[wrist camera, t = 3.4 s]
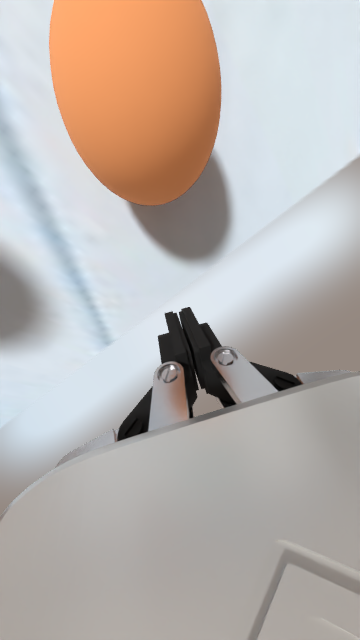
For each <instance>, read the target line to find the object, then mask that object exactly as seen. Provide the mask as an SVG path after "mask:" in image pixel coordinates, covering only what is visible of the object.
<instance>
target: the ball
mask: <svg viewBox="0 0 360 640" xmlns="http://www.w3.org/2000/svg"><path fill="white" fill-rule="evenodd" d="M49 49H50V65H51V73H52V80H53V87H54V91H55V95H56V99H57V104H58V107H59V110H60V113H61V116H62V119H63V122H64V124H65V127H66V129H67V131H68V134H69V136H70V138H71V141H72V142H73V144H74V146H75V148H76V150H77V152H78V154H79V155H80V157H81V158H82V160H83V161H84V163H85V164H86V165H87V167H88V168H89V169H90V170H91V172H92V173H93V174H94V175H95V177H96V178H97V179H98V180H99V181H100V182H101V183H102V184H103V185H104V186H106V187H107V188H108V189H109V190H110V191H112V192H113V193H115V194H116V195H118V196H119V197H121V198H123V199H125V200H127V201H130V202H133V203H136V204H140V205H150V206H154V205H162V204H165V203H168V202H171V201H173V200H175V199H177V198H178V197H180V196H181V195H183V194H184V193H185V192H186V191H187V190H188V189H189V188H190V187H191V186H192V185H193V184H194V183H195V182H196V181H197V179H198V178H199V176H200V175H201V173H202V172H203V170H204V168H205V166H206V164H207V162H208V160H209V157H210V155H211V152H212V149H213V147H214V143H215V139H216V136H217V131H218V125H219V119H220V108H221V75H220V65H219V59H218V53H217V47H216V43H215V39H214V35H213V31H212V27H211V24H210V21H209V18H208V15H207V12H206V10H205V7H204V5H203V3H202V1H201V0H54V4H53V9H52V15H51V21H50V37H49Z"/></svg>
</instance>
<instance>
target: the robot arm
mask: <svg viewBox="0 0 360 640" xmlns="http://www.w3.org/2000/svg"><path fill="white" fill-rule="evenodd" d="M179 315H180V320H181V324H182V327H181V324H180V321H179V318H178V316H177V313H173V312H169V313H165V317H166V322H167V326H168V330H169V333H166V334H163V335H159V336H158V341H159V348H160V355H161V362H162V365H160V366H159V367H158V368H157V369H156V371H155V373H154V381H153V386H152V388H151V389H150V390H149V391H148V392H147V394H146V395H145V396H144V397H143V399H142V400H141V401H140V402H139V403H138V405H137V406H136V407H135V408H134V409H133V411H132V412H131V413H130V414H129V415H128V417H127V418H126V419H125V420H124V421H123V423H122V425H121V426H120V428H119V429H117V430H115V431H114V429H112V430H110V431H108V432H106V433H105V434H103V435H101V436H99V437H97V438H95V439H94V440H92V441H90V442H88V443H86V444H84V445H82V446H81V447H79V448H77V449H75V450H73V451H72V452H70V453H68V454H67V455H66V456H64V457H63V458H62V459H61V460H60V462H59V463H58V464H57V466H56V468H54V469H53V470H52V471H50V472H48V473H47V474H46V475H44V476H43V477H41V478H40V479H38V480H37V481H36V482H35V483H33V484H32V485H30V486H29V487H28V488H27V489H26V490H24V491H23V492H22V493H21V494H20V495H19V496H18V497H17V498H16V499H15V500H14V501H13V502H12V503H11V504H10V505H9V506H8V507H7V508H6V510H5V511H4V512H3V514H2V515H1V516H0V640H360V371H358V372H349V371H346V370H335V371H323V372H310V373H298V374H297V375H296V376H293V375H291V374H288V373H286V372H283V371H279V370H275V369H272V368H269V367H266V366H262V365H259V364H255V363H252V362H249V361H248V360H247V359H246V358H244V357H243V355H242V354H240V352H238V351H237V350H236V349H234V348H232V347H226V346H225V347H222V346H221V344H220V343H219V341H218V340H217V338H216V336H215V335H214V333H213V332H212V330H211V328H210V327H209V325H208V324H207V323H203V324H199V323H198V321H197V320H196V318H195V316H194V314H193V312H192V310H191V308H190V307H188V308H184V309H182V311H181V312H179ZM194 369H195V370H194ZM195 372H196V375H197V378H198V381H199V384H200V386H201V389H204V388H205V390H206V393H207V394H208V393H209V394H211V395H213V396H215V397H216V400H217V402H218V404H219V405H220V407H221V409H220V410H217V411H213V412H210V413H207V414H204V415H200V416H198V417H194V408H193V404H194V402H195V400H196V399H197V393H196V390H199V389H198V384H197V379H196V375H195Z"/></svg>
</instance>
